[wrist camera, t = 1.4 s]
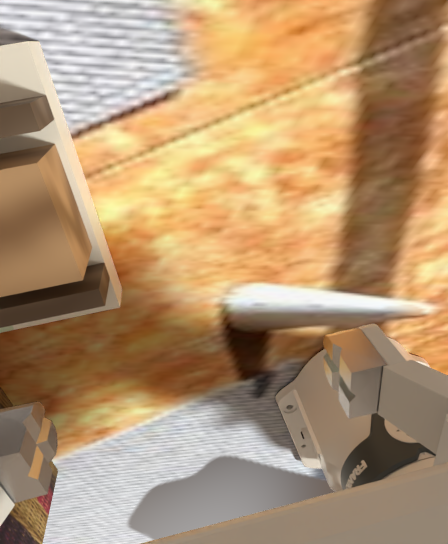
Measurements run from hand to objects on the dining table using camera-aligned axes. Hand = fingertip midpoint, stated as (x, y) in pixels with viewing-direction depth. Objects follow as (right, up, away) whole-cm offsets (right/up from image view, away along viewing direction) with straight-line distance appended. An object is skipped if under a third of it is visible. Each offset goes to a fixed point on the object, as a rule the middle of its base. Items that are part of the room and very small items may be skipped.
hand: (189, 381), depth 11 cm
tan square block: (-14, +8, +17) cm, 23 cm away
